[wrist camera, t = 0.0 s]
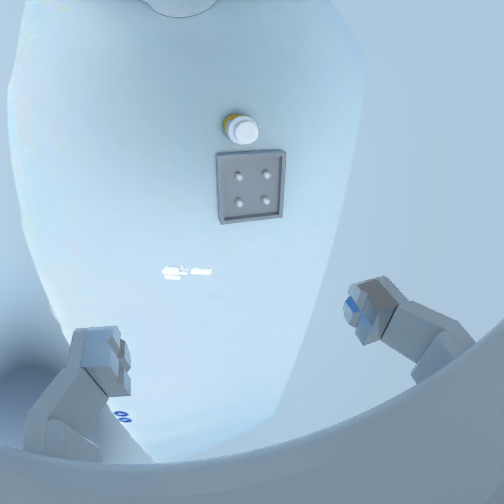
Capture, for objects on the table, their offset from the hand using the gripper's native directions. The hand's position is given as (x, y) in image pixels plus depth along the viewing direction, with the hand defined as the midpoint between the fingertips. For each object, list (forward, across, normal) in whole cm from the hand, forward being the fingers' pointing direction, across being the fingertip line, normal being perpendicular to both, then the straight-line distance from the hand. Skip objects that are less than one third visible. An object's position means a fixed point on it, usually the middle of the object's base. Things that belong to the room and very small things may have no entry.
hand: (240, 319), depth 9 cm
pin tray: (+48, -13, +13) cm, 51 cm away
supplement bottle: (+48, -10, 0) cm, 49 cm away
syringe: (+49, -1, +34) cm, 59 cm away
